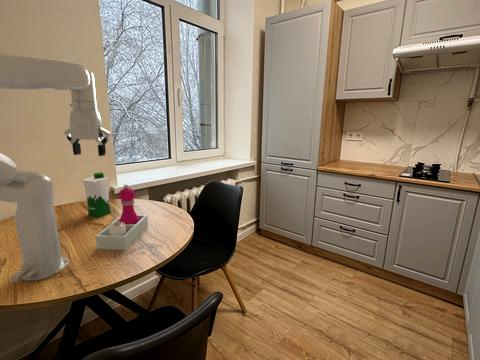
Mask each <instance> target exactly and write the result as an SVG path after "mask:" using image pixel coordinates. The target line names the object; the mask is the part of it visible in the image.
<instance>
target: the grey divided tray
mask: <svg viewBox="0 0 480 360" xmlns="http://www.w3.org/2000/svg"><path fill="white" fill-rule="evenodd" d="M137 216H138V218H139V222H138V223H137V224H136V225H133V224H125V227H126V234H125V235H124V236H110V234H109V225H107V226H106V227H105V228H104V229H103V230H101V231H100V232H98V233H97V234H96V235H95V243H96V249H97V250H115V251H116V250H118V251H122V250H123V251H126V250H128V248H129V247H130V246H131V245H132V244H133V243H134V242H135V241H136V240H137V239H138V238H139V237H140V236H141V234H142V233H144V231H145V230H146V229H147V228H148V227H149V223H148V220H149V219H148V215H147V214H137ZM120 218H121V215H120V216H119V217H117V218H116V219H115V220H114V221H112V223H114V222H116V221H119V222H120ZM112 223H110V224H112Z"/></svg>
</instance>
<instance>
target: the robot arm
mask: <svg viewBox="0 0 480 360" xmlns="http://www.w3.org/2000/svg"><path fill="white" fill-rule="evenodd" d="M95 85H96V84H95V75H94V73H93V72H92V71H91V70H88V69H86V68H85V67H84V66H82V65H80V64H78V63H73V62H66V61H60V60H52V59H42V58H36V57H29V56H20V55H11V54H5V53H0V89H1V90H2V89H3V90H4V89H5V90H42V89H53V90H57V91H58V90H61V91H62V90H63V91H67V90H69V91H70V96H71V103H70V104H69V107H70V108H72V110H70V112H69V113H70V114H69V128H67V129H66V130H64V132H63V133H64V135H65V136H66V139H67V140H68V141H69V143H70V144H71V145H72V152H73V155H74V156H78V155H81V154H82V147H81V143H80V141H81V140H87V141H89V140H95V141H96V142H97V144H98V145H97V152H98V156H99V157H102V156H106V152H107V151H106V145H107V143H108V142H109V141H110V138H111V135H112V133H111V132H110V131H108V130H106V129H105V128H103V122H102V118H101V115H100V112H99V111H98V106H97V98H96V96H97V94H96V86H95ZM54 197H55V186H54V183H53V181H52V179H50V177H49V176H47V175H45V174H42V173H40V172H34V171H28V170H26V171H25V170H19V169H18V167H17V165H16V163H15V161H14V160H12V159H11V158H10V157H8V156H7V155H5V154H3V153H2V152H0V202H5V203H13V204H16V210H15V213H14V225H15V229H16V232H17V238H18V242H19V243H18V244H19V247H20V252H21V256H22V261H23V262H22V263H21V264H20V267H21V268H20V269H19V271H18V272H16V273H15V274H14V275H12V276H10V280H11V281H12V282H13V283H16V282H18V281H19V280H23V281H27V282H33V281H42V280H45V279H48V278H51V277H54V276H56V275H58V274H59V272H60V271H61V270H62V269H64V268H65V267H66V266H68V264H69V258H68V257H66V256H64V255H62V249H61V243H60V238H59V232H58V226H57V221H56V216H55V215H56V214H55V207H54V204H55V203H54Z"/></svg>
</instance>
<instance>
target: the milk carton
mask: <svg viewBox="0 0 480 360" xmlns="http://www.w3.org/2000/svg"><path fill="white" fill-rule="evenodd" d="M93 175H94V176H91V177H88V178H84V179H82V182H83V187H84V188H85V189H84V190H85V194H86V195H85V196H86V202H87V214H88V216H91V217H94V218H100V217H103V216H106V215H109V214H110V213H112V211H111V206H110V200H109V191H108V183H109V182H108V181H109V178H108V177H106V176H104V175H105V174H104V172H95V173H93Z"/></svg>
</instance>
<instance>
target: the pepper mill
mask: <svg viewBox="0 0 480 360" xmlns="http://www.w3.org/2000/svg"><path fill="white" fill-rule="evenodd" d="M135 197H136V193H135V190H134V189H133V188H130V187H129V185H128V184H124V185H123V188H122V189H120V190H119V192H118V198H119V199H120V204H121V206H122V213H121V215H120V216H121V218H120V222H123V223H125V224H133V225H136V224H137V223H138V222H139V218H138V216H137V215H138V214H137V212H136V210H135V209H134V208H135V207H134V204H135V199H134V198H135Z"/></svg>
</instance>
